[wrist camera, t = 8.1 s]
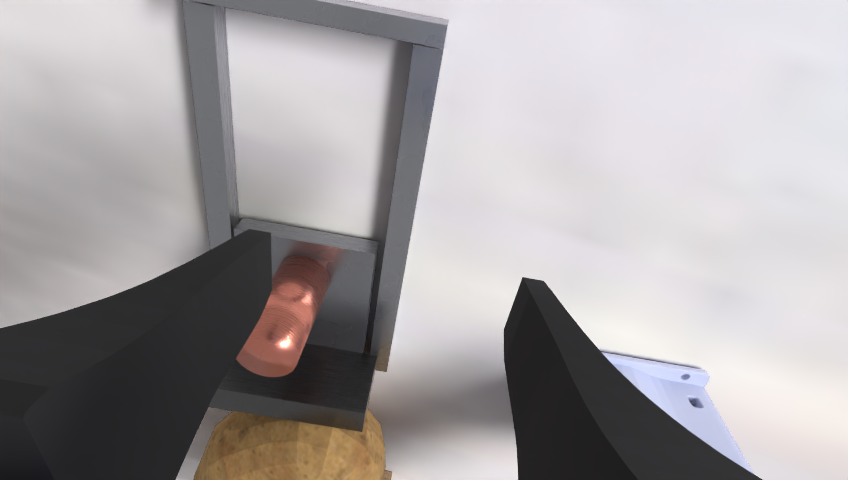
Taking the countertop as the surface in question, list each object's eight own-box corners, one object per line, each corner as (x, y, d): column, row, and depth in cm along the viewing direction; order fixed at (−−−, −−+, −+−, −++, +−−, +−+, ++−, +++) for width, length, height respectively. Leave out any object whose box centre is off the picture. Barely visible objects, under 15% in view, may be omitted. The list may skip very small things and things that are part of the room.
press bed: (492, 28, 18) (504, 52, 13) (388, 485, 36) (377, 570, 31) (146, -39, 18) (18, -41, 12) (218, 457, 36) (178, 539, 31)
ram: (395, 244, 23) (374, 333, 18) (377, 358, 28) (356, 458, 22) (226, 214, 23) (150, 295, 17) (236, 334, 28) (179, 429, 22)
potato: (192, 401, 32) (120, 517, 25) (331, 321, 27) (288, 440, 20) (287, 468, 36) (248, 584, 29) (425, 409, 31) (416, 534, 24)
